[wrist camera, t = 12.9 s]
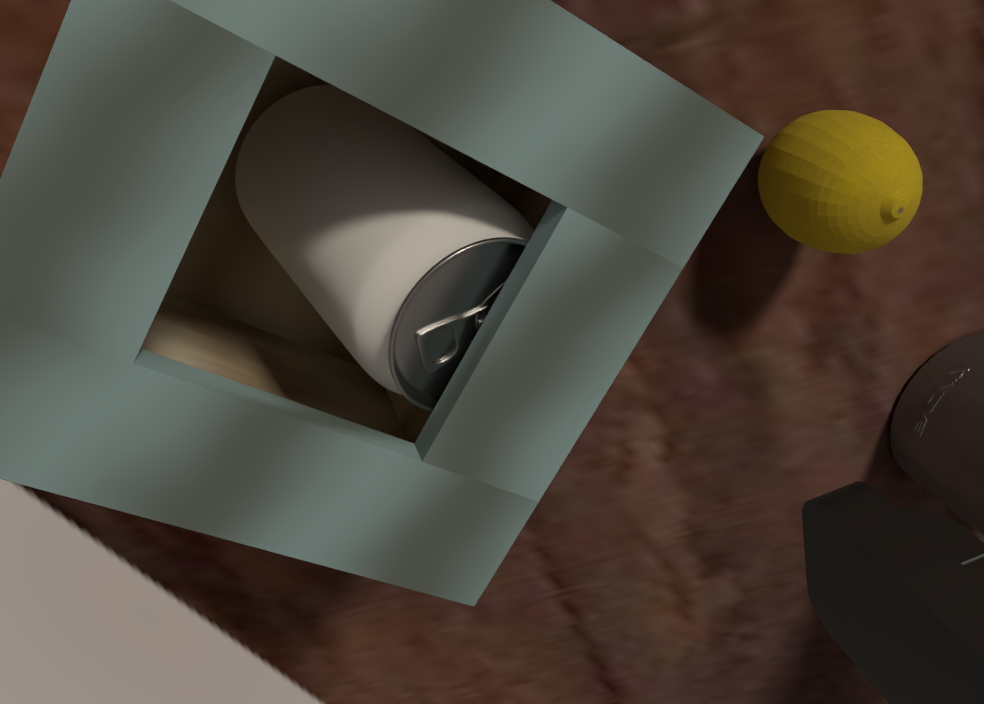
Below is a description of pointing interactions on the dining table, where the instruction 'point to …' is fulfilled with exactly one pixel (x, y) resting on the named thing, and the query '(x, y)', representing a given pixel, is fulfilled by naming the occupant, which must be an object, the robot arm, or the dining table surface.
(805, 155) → the lemon
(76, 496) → the drop box
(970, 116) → the dining table surface
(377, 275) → the can
